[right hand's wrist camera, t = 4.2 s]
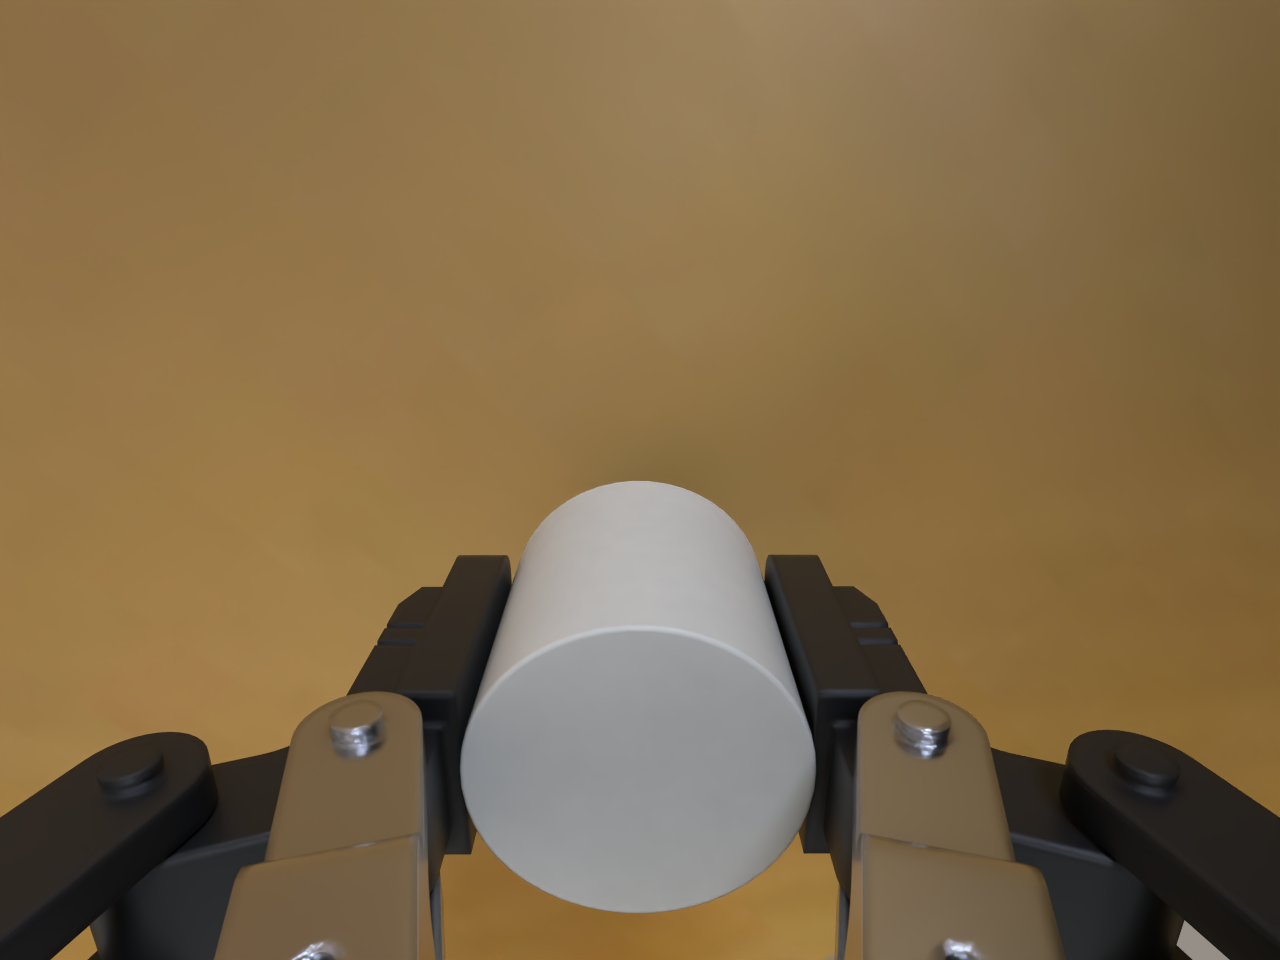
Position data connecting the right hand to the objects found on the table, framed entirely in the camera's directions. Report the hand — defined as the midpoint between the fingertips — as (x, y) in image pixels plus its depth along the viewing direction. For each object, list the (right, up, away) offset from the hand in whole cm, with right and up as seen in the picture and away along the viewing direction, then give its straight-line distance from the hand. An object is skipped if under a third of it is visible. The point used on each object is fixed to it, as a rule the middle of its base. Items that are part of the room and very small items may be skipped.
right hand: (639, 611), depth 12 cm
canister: (0, 0, +1) cm, 1 cm away
